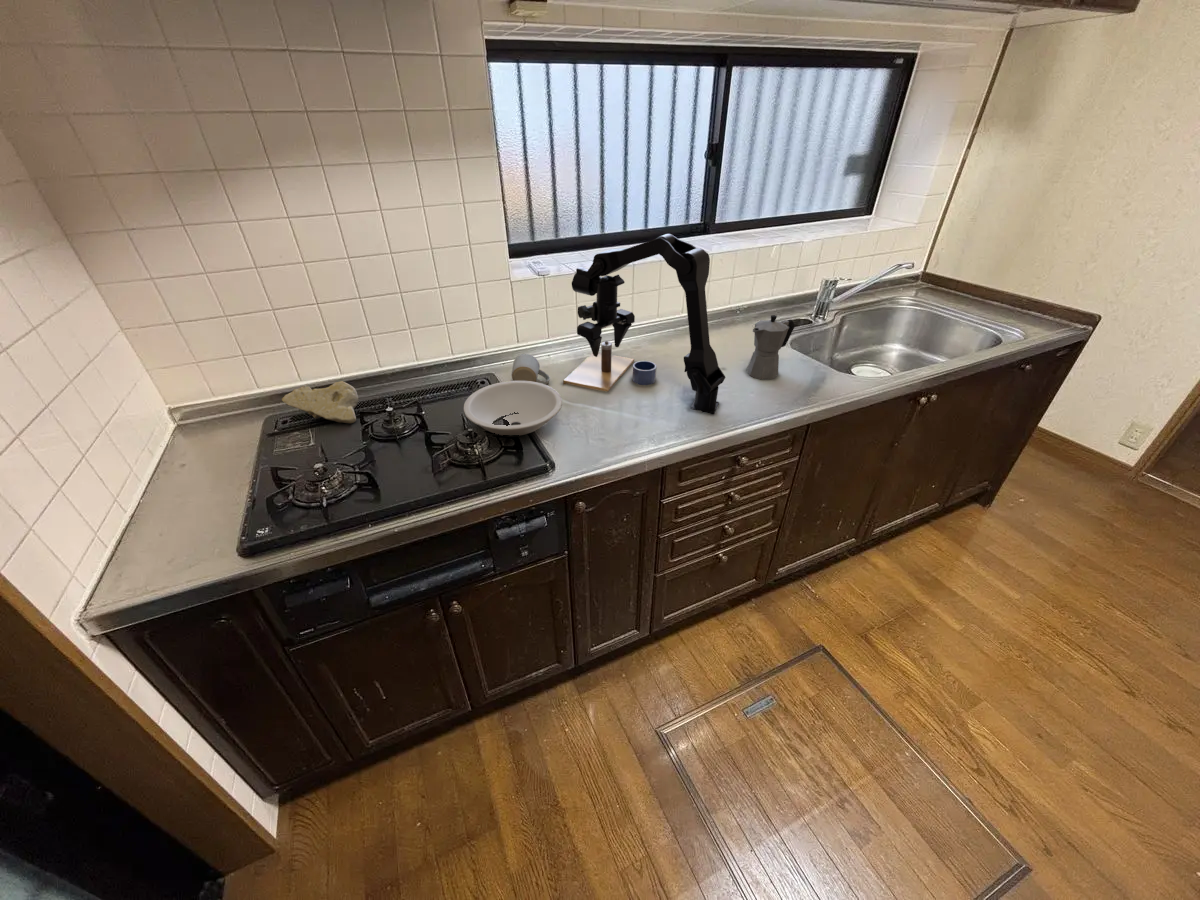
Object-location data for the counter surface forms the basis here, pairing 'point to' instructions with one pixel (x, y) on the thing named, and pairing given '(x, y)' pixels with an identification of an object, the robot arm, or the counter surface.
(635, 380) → the holder cup
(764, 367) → the coffeepot
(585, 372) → the bamboo board
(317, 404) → the beige irregular pointed piece
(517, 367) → the ceramic mug
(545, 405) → the soup bowl
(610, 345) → the pepper mill
